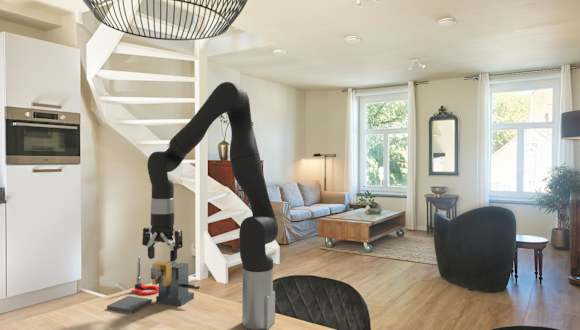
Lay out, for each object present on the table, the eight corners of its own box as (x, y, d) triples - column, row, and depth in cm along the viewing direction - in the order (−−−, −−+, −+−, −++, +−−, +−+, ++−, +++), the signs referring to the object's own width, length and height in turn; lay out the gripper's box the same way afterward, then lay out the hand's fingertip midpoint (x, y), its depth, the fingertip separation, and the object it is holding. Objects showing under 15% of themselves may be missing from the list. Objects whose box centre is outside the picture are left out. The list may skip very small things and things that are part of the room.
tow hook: (164, 290, 156) (142, 287, 157) (165, 256, 155) (143, 254, 157) (152, 297, 147) (129, 294, 149) (154, 262, 147) (131, 259, 148)
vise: (206, 300, 144) (206, 259, 144) (179, 317, 129) (179, 271, 129) (170, 294, 149) (170, 255, 149) (140, 310, 134) (140, 266, 134)
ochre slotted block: (171, 283, 137) (171, 263, 137) (166, 286, 134) (166, 265, 134) (158, 281, 139) (158, 261, 138) (152, 284, 136) (152, 263, 136)
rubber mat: (151, 302, 141) (151, 299, 141) (131, 313, 131) (131, 309, 131) (128, 299, 144) (128, 295, 144) (107, 309, 135) (107, 305, 135)
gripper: (187, 211, 137) (186, 259, 137) (152, 208, 142) (151, 254, 142) (174, 214, 130) (173, 265, 130) (137, 211, 134) (137, 260, 135)
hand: (162, 259), depth 136 cm, fingers open, 8 cm apart
